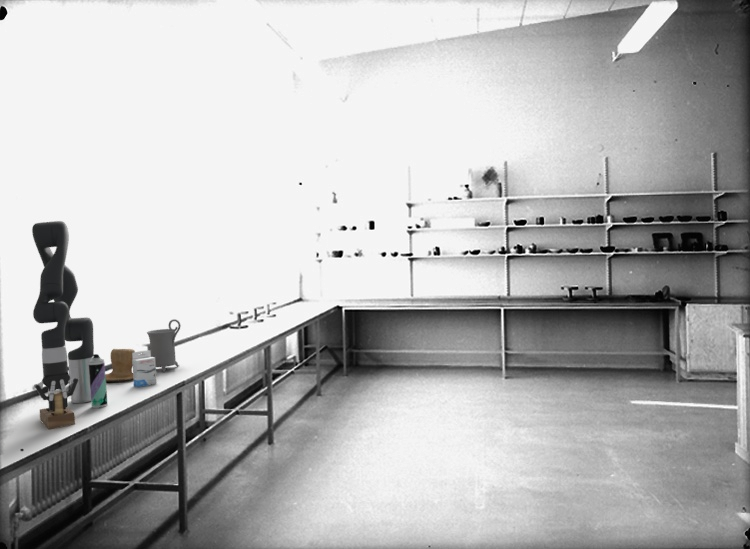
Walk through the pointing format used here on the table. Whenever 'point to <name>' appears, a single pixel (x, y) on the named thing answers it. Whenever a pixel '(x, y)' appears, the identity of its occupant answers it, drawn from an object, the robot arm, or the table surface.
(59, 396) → the oak peg
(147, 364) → the ink box
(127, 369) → the tan ankle boot
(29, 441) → the table surface
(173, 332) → the mug
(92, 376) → the spray can
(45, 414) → the walnut block
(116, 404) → the table surface
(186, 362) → the table surface
